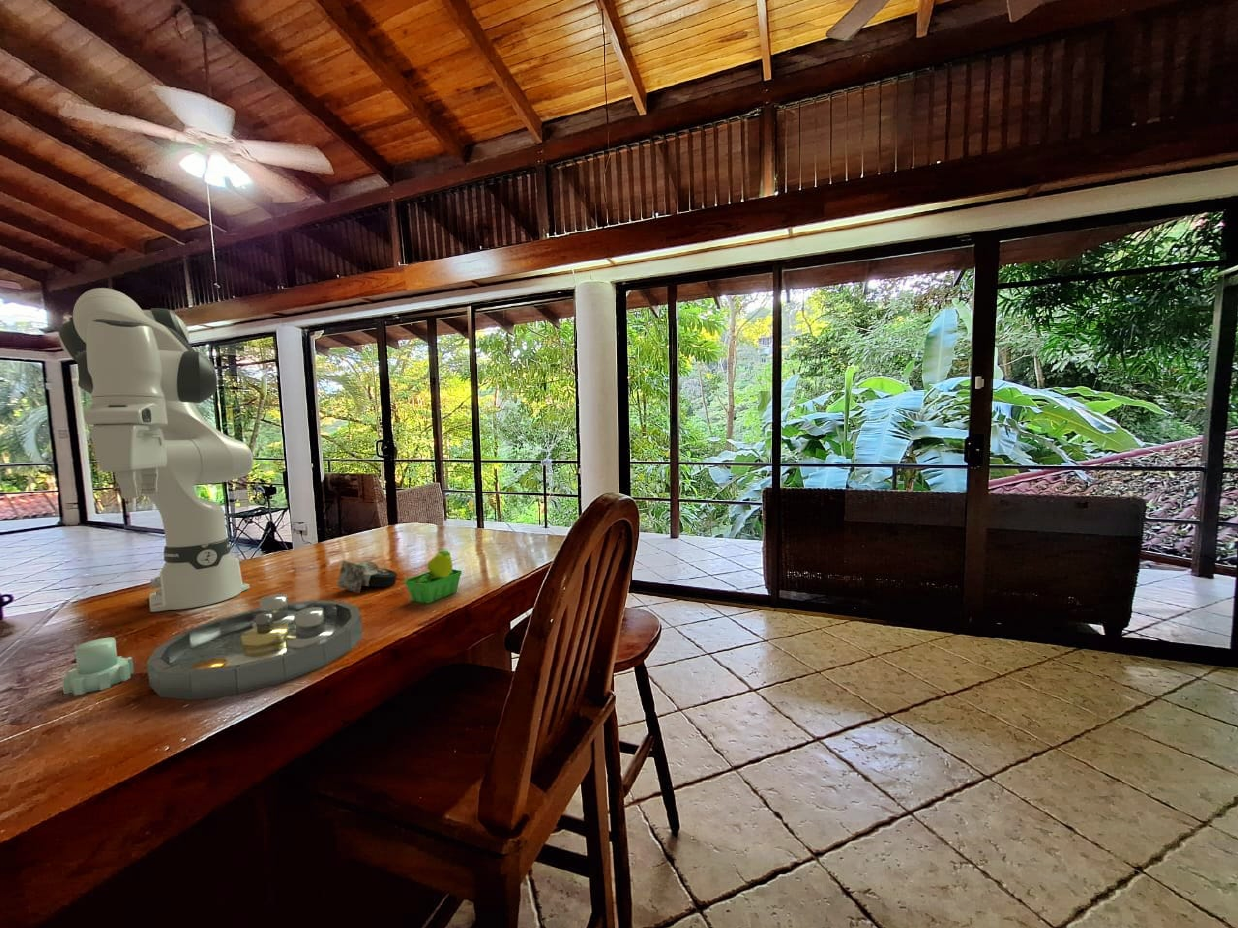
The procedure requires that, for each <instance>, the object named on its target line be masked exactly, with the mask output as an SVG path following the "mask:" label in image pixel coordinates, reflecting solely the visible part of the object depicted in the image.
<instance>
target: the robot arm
mask: <svg viewBox="0 0 1238 928" xmlns="http://www.w3.org/2000/svg"><path fill="white" fill-rule="evenodd" d="M68 319H69V320H68V321H66V322H64V323H62V325H61V326H60V327H59V329H58V330H57V332H58V340H59V344H60V347H61V348H62V349H63V351H64V352H65V354H66V355H68V356H69V357H70V358H71V359H73V360H74V361H75V362H76V364H77V371H78V372H77V373H78V382H77V386H78V387H79V388H81V389H82V390H84V391H85V392H87V393H88V394H90V397H91V399H90V400H91V406H90V407H89V408H88V409H86V410H85V411H84V412H83V418H84V423H85V424H86V425H88V426H91V428H90V435H91V442H92V446H93V452H94V455H95V461H96V463H97V465H98V467H99V469H100V470H101V472H103V473H111V472H112V473H114V479H115V481H116V483H117V485H118V487H119V489H120V495H121V499H124V500H130V499H136V498H138V497H140V493H141V494H143V495H144V496H146V497H147V498H148V499H149V500H150V501H151V502H152V503H153V504H154V506H156V508H157V510H158V512H159V514H160V518H161V520H162V525H163V526H162V527H163V531H164V537H165V546H164V549H163V561H164V562H165V563H164V564H163V567H162V569H161V571H160V572H159V576H157V577H154V578H151V579H150V587H151V589H156V591H155V592H152V593H150V594H149V595H148V596H149V597H148V602H149V612H150V613H151V612H152V613H154V612H162V611H170V610H171V611H172V610H185V609H192V608H197V607H204V606H208V605H212V604H216V603H220V602H223V601H226V600H229V599H231V598H234V597H236V596H238V595H239V594H241V592H244V591H246V590H248V589H250V588H251V586H250V584H249V583H244V582H243V579H242V572H241V567H240V562H239V558H237V557H235V556H233V555H232V554H231V553H230V552H231V545H232V544H231V542H230V538H229V537H227V535H228V534H227V524H226V516H225V510H224V509H223V507H222V506H221V505H220V504H218V503H216V502H215V501H213V500H209V499H206V498H202V497H199V496H198V494H197V493H196V491H195V489H194V486H195V485H206V484H207V485H208V484H217V483H218V484H219V483H226V482H230V481H233V480H234V481H235V480H238V479H240V478H241V479H242V478H244V477H246V476H248V474H249V473H251V471H252V468H253V466H254V455H253V452H252V450H251V449H250V447H249V446H248V445H247V444H246V443H245V442H243V441H241V440H238V439H235V438H233V437H230V436H229V435H227V434H225V433H223V432H222V431H220V430H218V429H217V428H216V427H214V426H213V425H212V424H210V422H208V421H207V420H206V419H205V418H204V417H203V416H202V414H201V413H200V411H199V409H198V407H197V406H196V404H202V403H203V402H205V401H206V400H208V399H209V398H211V397H212V396H213V395H214V394H216V392H217V389H218V388H217V386H218V375H217V371H216V369H215V367H214V364H213V362H212V361H211V360H210V359H209V358H208V357H207V356H205V355H204V354H202V352H200V351H197V350H195V348H193V347H192V345H190V341H189V339H190V335H189V334H190V332H189V330H188V327H187V326H186V324H185V322H184V321H183V320H182V319H181V317H179V316H178V315H177V314H176V313H175V312H174V311H172V310H170V309H168V308H159V307H157V308H152V307H151V308H150V309H142V308H141V307H140V306H139V305H138V303H137V302H136V301H135V300H133V299H132V297H129V296H128V295H126V294H125V293H123V292H121V291H118V290H115V289H113V288H108V287H107V288H106V287H101V288H100V287H98V288H92V289H89V290H87V291H85V292H84V293H83V294H81V295H80V296H79V297H78V299H76V302H75V304H74V306H73V311H72V316H71V317H69V318H68ZM157 588H160V589H157Z"/></svg>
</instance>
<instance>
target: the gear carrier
mask: <svg viewBox="0 0 1238 928" xmlns="http://www.w3.org/2000/svg"><path fill="white" fill-rule="evenodd" d="M288 601H289V600H288V594H287V593H274V594H270V595H267V596H263V597H261V598H260V599H259V608H255V609H250V610H246V611H242V612H238V613H235V614H232V615H228V616H225V617H220V618H217V619H214V620H211V621H210V622H206V623H204V624H202V625H199V626H197V627H194V628H191V629H188V630H186V631H184V632H181V633H180V634H177V635H176V636H174V637H173V638H171V639H169V640H168V641H165V642H164V643H162V644H160V645H159V646H157V647H156V648H155V649H154V651H153V652H152V654H151V655H150V656H149V658H148V659H147V661H146V666H147V674H148V683H149V687H150V688H151V689H152V690H153V691H154V692H155V693H156V694H157V695H158V696H159V697H160V698H167V699H176V700H178V699H180V700H189V701H195V700H196V701H197V700H205V699H212V698H220V697H229V696H237V695H241V694H244V693H249V692H252V691H256V690H257V691H258V690H260V689H264V688H269V687H272V686H275V685H276V686H277V685H279V684H283V683H286V682H289V681H291V680H294V679H297V678H298V677H301V676H304V675H306V674H309V673H311V672H314V671H316V670H318V669H321V668H323V667H326V666H328V665H329V664H331V663H333V662H334V661H336V660H337V659H339V658H341V657H342V656H344V655H345V654H347V653H349V652H350V651H352V650H353V648H354V647H355V646H356V645H357V644H358V642H359V641H360V640H361V638H362V637H363V627H362V626H363V625H362V615H361V612H360V609H359V607H358V606H357V605H353V604H351V603H348V602H345V601H339V600H338V601H337V600H320V599H319V600H317V599H316V600H308V601H298V602H297V601H296V602H288Z"/></svg>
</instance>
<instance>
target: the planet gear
mask: <svg viewBox="0 0 1238 928" xmlns="http://www.w3.org/2000/svg"><path fill="white" fill-rule="evenodd" d="M74 652H75V660H76V668H72V669H70V670H68V671H66V675H64V676H62V677H61V685H62V690H63V691H62V692H63V694H64V695H68V694H73V695H74V696H82V695H84V694H86V693H92V692H96V691H103V690H107V689H110V688H111V686H114V685H117V684H119V683H120V682H125V681H127V680H129V679H130V678H131V675H132V674H134V673H135V669H134V661H133V658H132V656H128V657H126V658H125V657H123V656H122V655H121V656H118V653H117V642H116V638H115V637H105V638H104V637H103V638H98V639H93V640H89V641H85V642H84V643H81V644H79V645H77V646H76V647H75V648H74Z"/></svg>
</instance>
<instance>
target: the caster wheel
mask: <svg viewBox="0 0 1238 928" xmlns="http://www.w3.org/2000/svg"><path fill="white" fill-rule="evenodd" d="M397 577H398V573H397V572H396V571H393V570H391V569H386V568H380V567H379V566H378V565H377V564H376V563H375V562H372V561H370V560H369V561H368V560H364V561H359V562H350V561H346V560H342V564H341V568H340V573H339V577H338V581H337V584H336V585H337V588H340V589H344V590H347V591H350V592H354V593H357V594H359V593H360V592H361V588H362V587H378V588H379V587H381V588H382V587H383V588H385V587H386V588H387V587H392V586H394V585H395V584H396V581H397Z"/></svg>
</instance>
